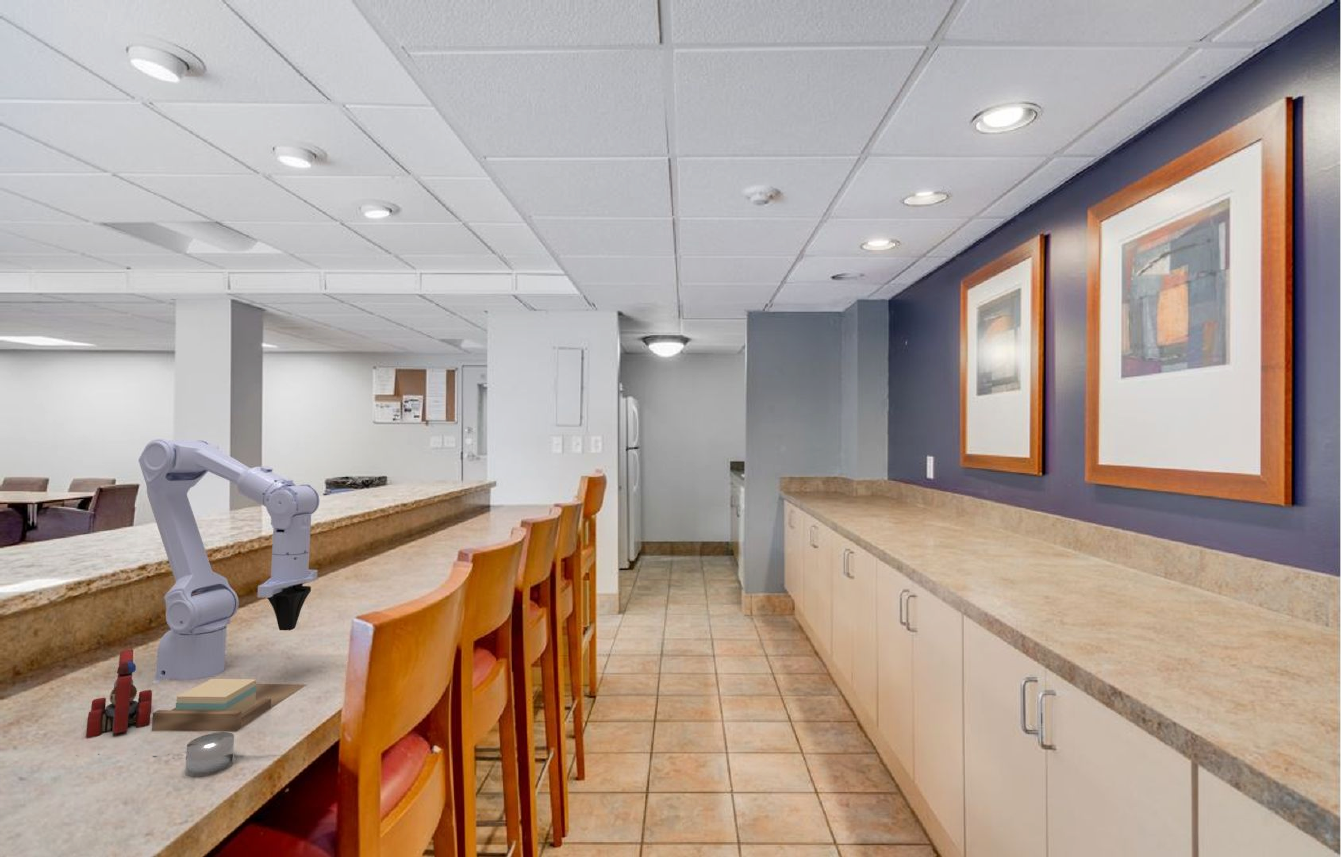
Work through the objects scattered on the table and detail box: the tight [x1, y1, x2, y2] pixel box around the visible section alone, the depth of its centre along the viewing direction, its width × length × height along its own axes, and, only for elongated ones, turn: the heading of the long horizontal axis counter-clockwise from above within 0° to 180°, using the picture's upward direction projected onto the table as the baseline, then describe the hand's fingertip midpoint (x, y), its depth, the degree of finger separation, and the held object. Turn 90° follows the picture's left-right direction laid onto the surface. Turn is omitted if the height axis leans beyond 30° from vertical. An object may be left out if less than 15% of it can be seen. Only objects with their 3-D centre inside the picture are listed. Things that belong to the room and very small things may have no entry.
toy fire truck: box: [85, 648, 153, 739], centre depth 91 cm, size 7×12×10 cm, turn 40°
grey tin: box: [185, 732, 235, 778], centre depth 80 cm, size 5×5×4 cm
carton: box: [175, 678, 257, 713], centre depth 92 cm, size 7×7×4 cm
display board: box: [151, 683, 307, 733], centre depth 97 cm, size 12×18×4 cm, turn 2°
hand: (287, 629), depth 108 cm, fingers closed
